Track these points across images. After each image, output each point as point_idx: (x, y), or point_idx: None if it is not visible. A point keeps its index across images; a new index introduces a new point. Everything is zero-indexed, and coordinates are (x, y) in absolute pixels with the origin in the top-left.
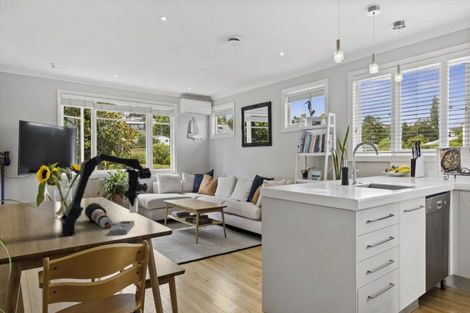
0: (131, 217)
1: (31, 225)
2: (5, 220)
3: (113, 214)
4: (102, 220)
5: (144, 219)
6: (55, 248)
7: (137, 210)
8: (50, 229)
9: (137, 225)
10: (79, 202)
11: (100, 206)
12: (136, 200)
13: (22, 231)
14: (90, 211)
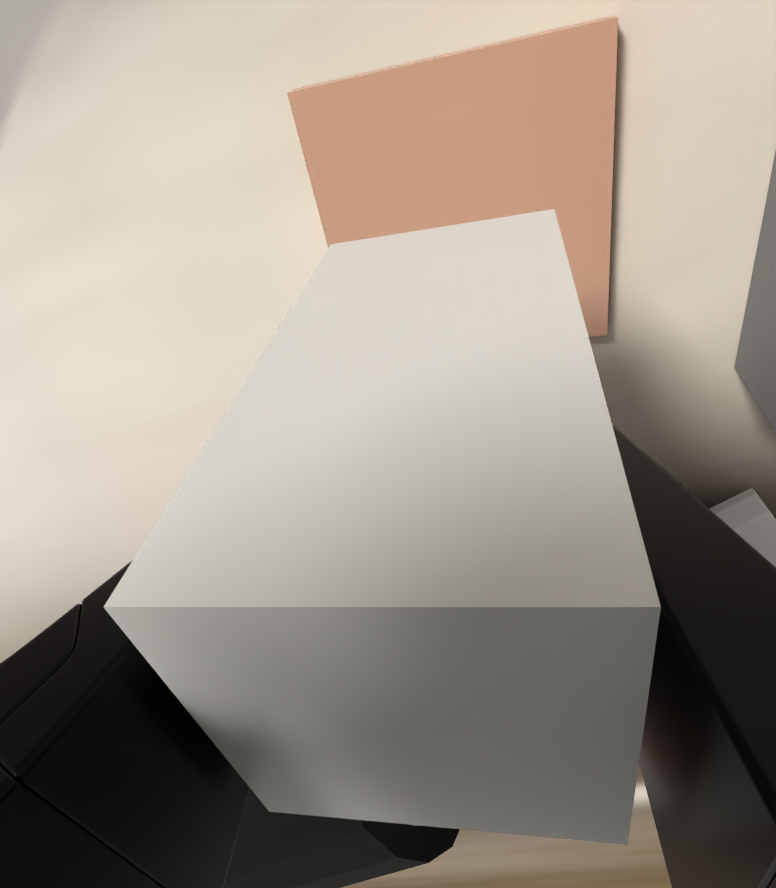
0: (44, 409)
1: (493, 872)
2: None
3: (17, 615)
4: None
5: (71, 120)
6: None
7: (353, 254)
8: (637, 817)
9: (648, 54)
10: None
11: (336, 840)
12: (553, 525)
13: (657, 880)
14: (454, 831)
